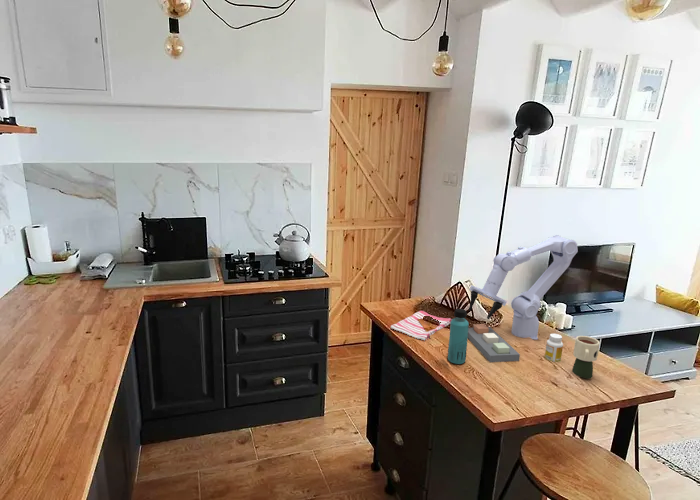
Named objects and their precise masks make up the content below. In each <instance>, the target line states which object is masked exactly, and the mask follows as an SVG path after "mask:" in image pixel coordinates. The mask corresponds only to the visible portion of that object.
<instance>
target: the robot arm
mask: <svg viewBox="0 0 700 500" xmlns="http://www.w3.org/2000/svg"><path fill="white" fill-rule="evenodd" d="M546 252H550V253H551V256H552V258H553V261H552V262H551V263H550V264H549V266H548V267H547V268H546V269H545V271H544V272H543V273H542V274H541V275H540V277H538V279H537V280H536V281H535V282H534V284H532V285H531V286H530V288H529V289H528V290H526V291H522V292H521V293H520V294H518V295H517V296H515V297H514V298H513V299H512V300H511V303H510V306H511V309H512V310H513V316H512V325H511V326H512V327H511V335H512V336H515V337H518V338H522V339H523V338H524V339H525V338H530V339H531V340H538V339H539V337H538V335H539V334H538V333H539V325H540V321H539V318H538V316H537V314H538V311H539V309H540V308H541V307H542V304H541V299H542V298H543V297H544V295H546V293H547V292H548V291H549V290H550V288H551V287H552V286H553V285H554V284H555V283H556V282H557V281H558V279H559V278H560V277H561V276H562V275H563V274H564V273H565V271H566V270H567V269H568V268H569V267H570V265H571V263H572V260H573V258H574V257H575V256H576V254H578V252H579V251H578V243H577V241H576V240H574V239H569V238H566V237H563V236H561V235H559V234H554V235H552V236H549V237H548V238H547V239H545V240H544V241H543V240H542V241H541V242H539V243H536V244H535V245H532V246H530V247H525V246H522V245H521V246H518V247H517V248H516V249H514V250H511V251H509V250H508V251H507V252H506V253H503V252H502V253H498V254H497V255H496V256H494V257H493V265H492V269H491V271H490V273H489V275H488V277H487V279H486V280H485V283H484V284H483V285H484V286H482V288H479V287H477V286H474V285H472V284H471V285H470V286H469V291H470V300H469V301H470V302H469V307H468V311H470V312H471V311H472V309H473V306H474V304H475V302H476V300H477V298H478V297H479V296H478V295H481V296H482V297H484V298H486V299H488V300H491V301H493V303H492V306H491V309H490V310H489V312H488V314H487V316H486V319H488V320H490V318H491V317H492V316H493V315H494V314H495V313H496V312H497V311H498V310H499V309H501V308H502V307H503V306H504V307H505V306H506V304H507V302H508V301H507V300H505V299H503V298H501V297H499V296H497V295H498V294H499V291H500V290H501V287H502V286H503V283H504V281H505V279H506V277H507V276H508V273H509V271H513V270H514V269H515V268H516V267H517V266H519V265H521V264H523V263H525V262H529V261H531V258H532V257H534V256H537V255H540V254H545V253H546Z"/></svg>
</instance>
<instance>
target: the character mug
mask: <svg viewBox="0 0 700 500" xmlns="http://www.w3.org/2000/svg"><path fill="white" fill-rule="evenodd" d="M600 345H601V343H600V340H598V339H596V338H594V337H591V336H588V335H587V336H586V335H578V336H576V337H575V340H574V347H573V356H574V358H575V361H574V363H573V366H572V370H571V372H572V373H573V374H575V375H576V376H578V377H581V378H583V379H592V378H593V377H594V376H593V373H594V362H596V361H597V359H598V356H599V350H600V349H599V348H600Z"/></svg>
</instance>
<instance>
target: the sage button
mask: <svg viewBox="0 0 700 500" xmlns="http://www.w3.org/2000/svg"><path fill="white" fill-rule="evenodd" d="M509 349H510V348H509V347H508V346H507V345H506V344H505V343H493V350H494V351H495V352H496V353H497V354H509Z"/></svg>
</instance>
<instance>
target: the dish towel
mask: <svg viewBox="0 0 700 500" xmlns="http://www.w3.org/2000/svg"><path fill="white" fill-rule="evenodd" d="M424 316H430V317H432V318H433V319H436V320H435V321H437V320H438V321H439V322H438V321H437V322H438V323H439V325H438V326H436V327H435V328H434V329H429V330H428V331H427V330H426V329H425V328H424V326H423V325H422V323H421V322H420V320H423V317H424ZM433 319H432V320H433ZM452 319H453V318H449V317H447V318H445V317H438V316H436V315H431V314H429V313H428V312H426V311H424V310H419V311H417V312H415V313H413V314H412V315H410V316H408V317H406V318H404V319H401V320H399V321H398V322H397V323H394V324H391V325H390V329H391V330H393V329H394V330H393V331H395V330H396V331H395V332H397V331H399V332H398V333H400V332H402V333H401V334H403V333H405V334H407V335H406V336H408V335H409V336H408V337H410V336H412V337H411V338H413V337H415V338H414V339H416V338H417V340H419V339H421V340H420V341H422V340H424V341H423V342H426V341H427V340H429V339H431V338H430V337H431V336H432V335H434V334H435V333H436V332H438V331H441V329H444V328H445V327H447V326H449V325H450V324H451V323H450V322H451V320H452ZM440 322H441V323H440ZM405 334H404V335H405ZM428 338H429V339H428ZM426 339H427V340H426ZM425 340H426V341H425Z"/></svg>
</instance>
